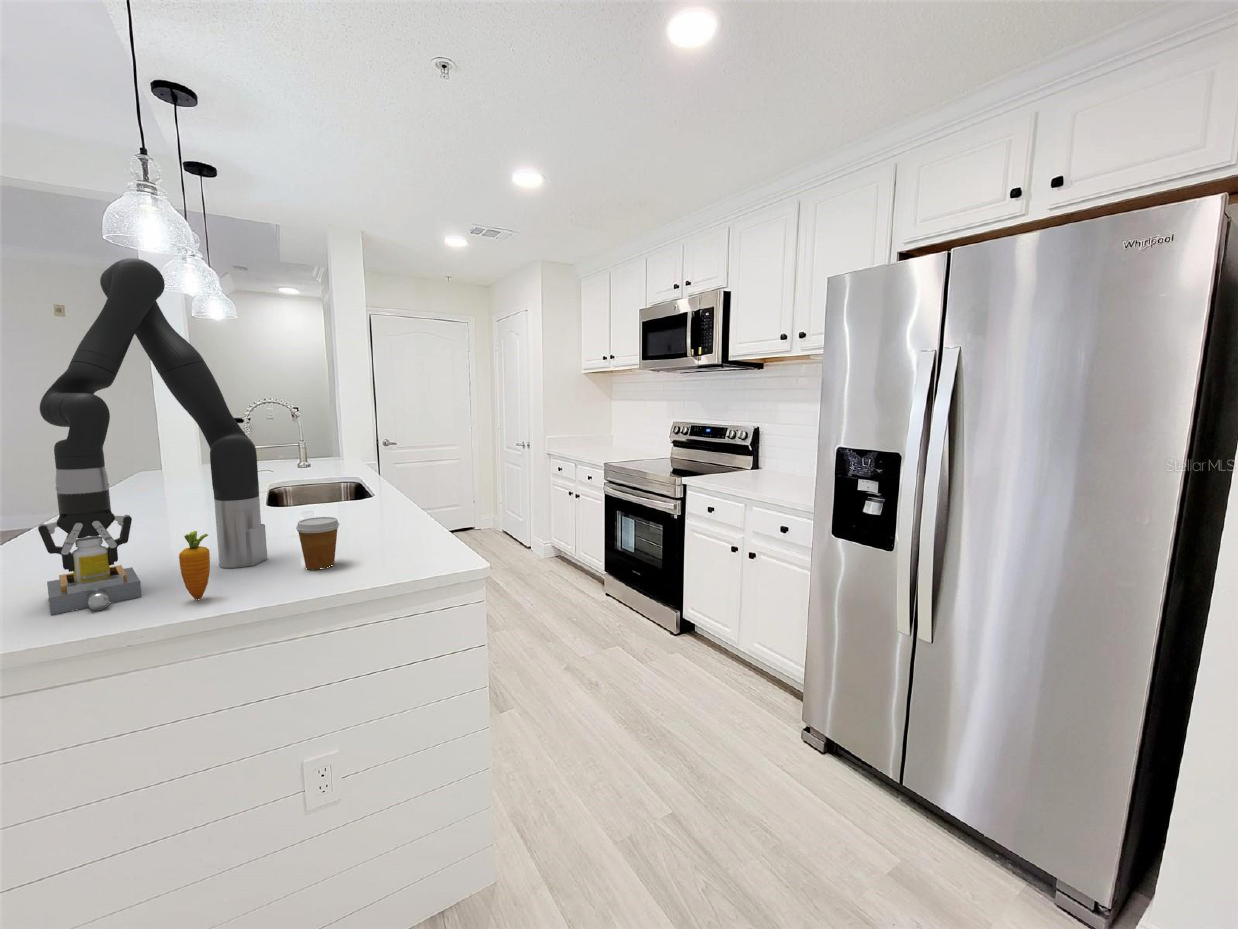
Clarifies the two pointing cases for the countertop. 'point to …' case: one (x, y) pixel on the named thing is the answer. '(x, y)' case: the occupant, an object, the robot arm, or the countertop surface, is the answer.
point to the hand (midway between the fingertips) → (91, 567)
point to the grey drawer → (93, 590)
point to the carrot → (195, 565)
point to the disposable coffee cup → (318, 541)
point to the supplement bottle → (90, 559)
